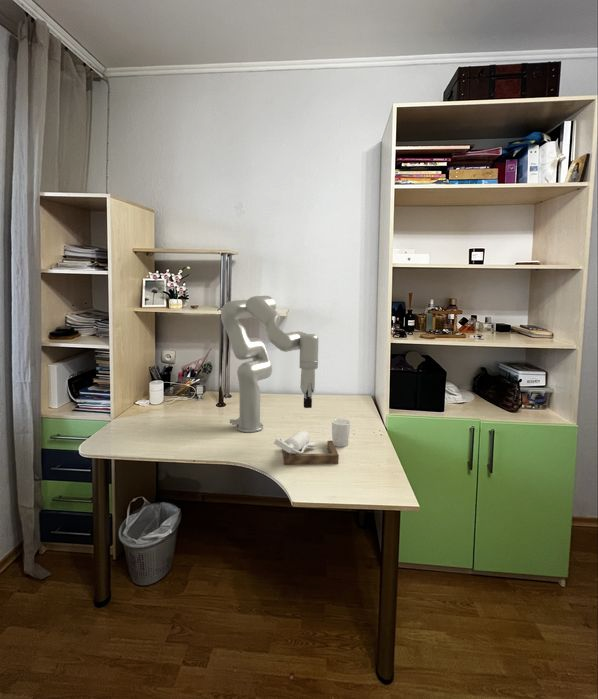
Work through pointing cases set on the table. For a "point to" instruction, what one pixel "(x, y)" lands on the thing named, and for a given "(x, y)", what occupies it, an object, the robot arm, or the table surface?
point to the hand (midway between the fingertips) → (307, 407)
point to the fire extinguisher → (295, 443)
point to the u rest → (312, 457)
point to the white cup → (340, 432)
